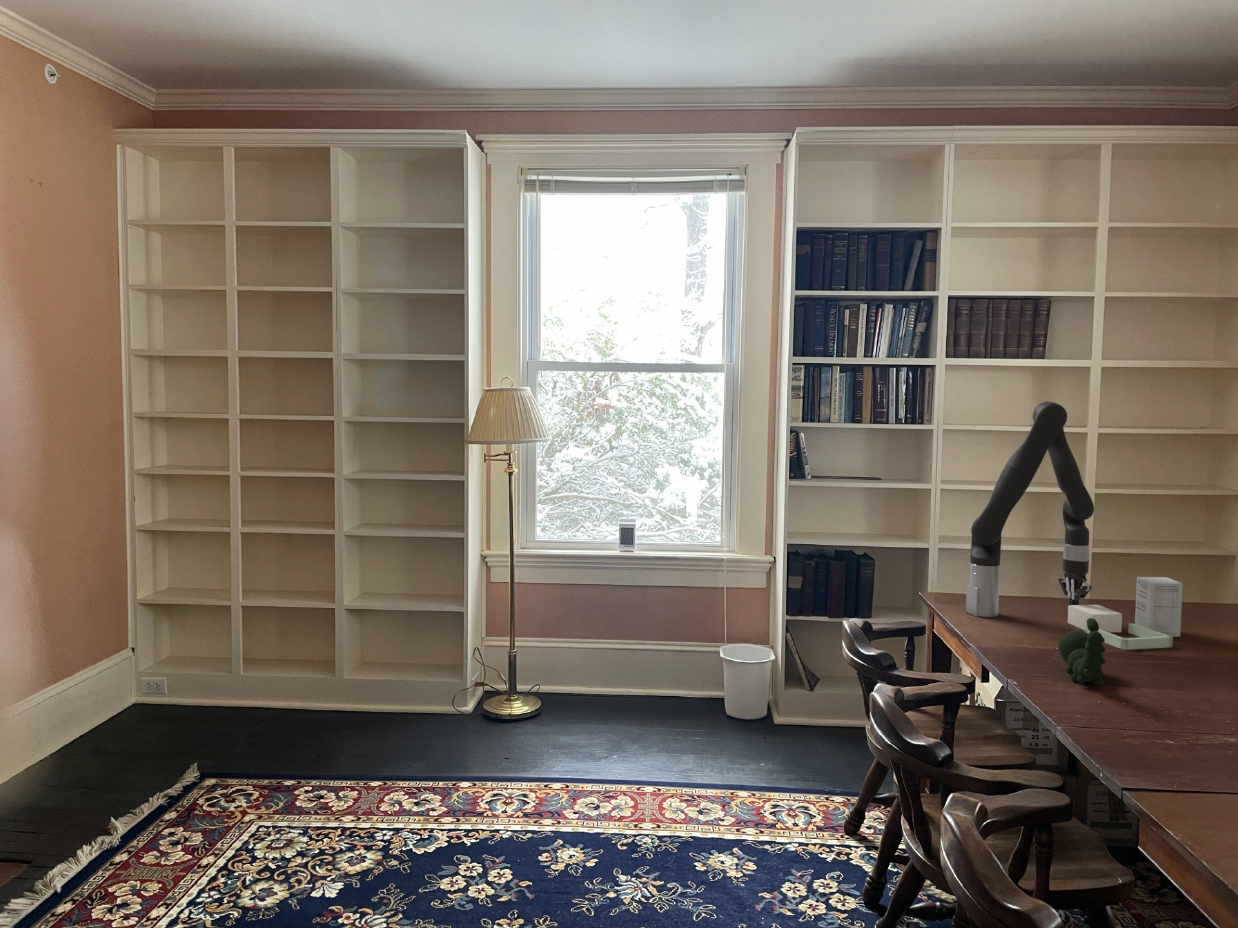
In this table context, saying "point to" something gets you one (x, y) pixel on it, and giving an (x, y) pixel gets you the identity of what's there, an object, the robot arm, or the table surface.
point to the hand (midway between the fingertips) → (1073, 609)
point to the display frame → (1145, 642)
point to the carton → (1095, 617)
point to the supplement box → (1159, 605)
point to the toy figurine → (1084, 654)
